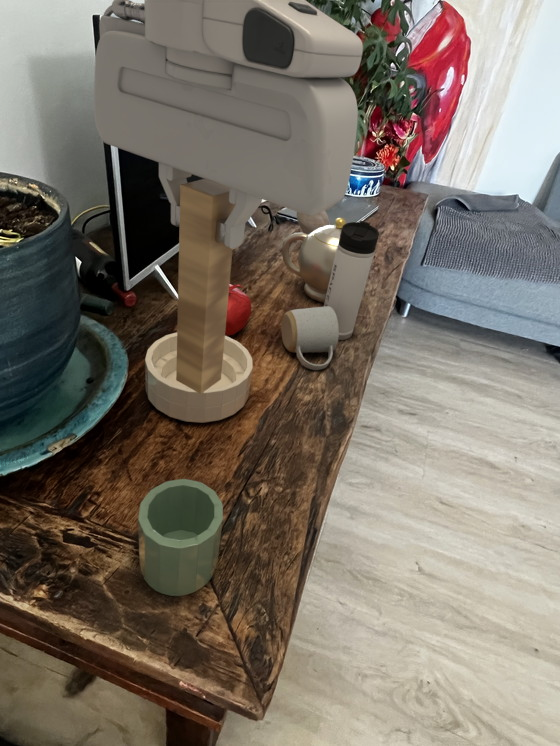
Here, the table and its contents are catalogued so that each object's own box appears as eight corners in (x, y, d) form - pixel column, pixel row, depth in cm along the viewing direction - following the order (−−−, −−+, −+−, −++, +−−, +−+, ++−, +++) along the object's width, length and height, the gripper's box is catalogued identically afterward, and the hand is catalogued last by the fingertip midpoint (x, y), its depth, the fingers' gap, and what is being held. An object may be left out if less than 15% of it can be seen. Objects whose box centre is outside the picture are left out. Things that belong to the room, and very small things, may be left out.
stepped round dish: (205, 442, 64) (207, 407, 61) (123, 393, 69) (122, 359, 66) (266, 390, 75) (272, 358, 71) (192, 351, 80) (194, 319, 76)
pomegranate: (256, 320, 91) (262, 273, 85) (238, 347, 83) (243, 298, 77) (205, 306, 92) (209, 259, 87) (183, 331, 84) (185, 282, 79)
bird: (281, 245, 121) (291, 183, 112) (333, 249, 124) (346, 189, 116) (285, 254, 117) (295, 190, 109) (338, 257, 121) (353, 195, 112)
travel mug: (355, 327, 94) (383, 226, 82) (347, 344, 89) (377, 238, 77) (323, 318, 95) (347, 216, 83) (314, 334, 90) (338, 227, 78)
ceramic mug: (276, 337, 87) (283, 299, 82) (319, 335, 90) (327, 298, 85) (295, 374, 79) (304, 334, 75) (341, 371, 82) (352, 332, 77)
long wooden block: (200, 394, 45) (212, 196, 35) (175, 380, 46) (180, 184, 36) (221, 379, 47) (238, 189, 37) (197, 366, 48) (206, 178, 38)
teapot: (364, 291, 107) (384, 217, 98) (352, 319, 97) (374, 239, 87) (286, 269, 110) (298, 196, 101) (266, 294, 100) (278, 214, 90)
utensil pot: (183, 612, 46) (186, 564, 41) (123, 566, 49) (119, 515, 44) (232, 555, 52) (239, 506, 47) (175, 516, 54) (177, 466, 50)
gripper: (60, -12, 32) (81, 203, 40) (340, 45, 24) (295, 295, 32) (134, -2, 36) (139, 190, 44) (389, 49, 29) (338, 267, 37)
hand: (206, 235), depth 38 cm, fingers closed on long wooden block, 3 cm apart
